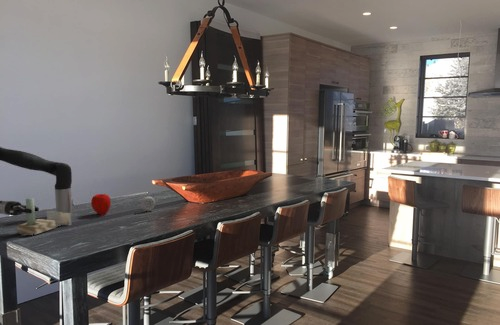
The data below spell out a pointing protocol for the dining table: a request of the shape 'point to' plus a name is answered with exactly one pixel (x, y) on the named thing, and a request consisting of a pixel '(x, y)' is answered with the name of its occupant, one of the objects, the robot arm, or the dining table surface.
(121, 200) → the dining table surface
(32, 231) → the socket block
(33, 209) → the dowel
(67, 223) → the rail base
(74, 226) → the dining table surface
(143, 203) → the donut
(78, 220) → the dining table surface
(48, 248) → the dining table surface
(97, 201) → the apple
